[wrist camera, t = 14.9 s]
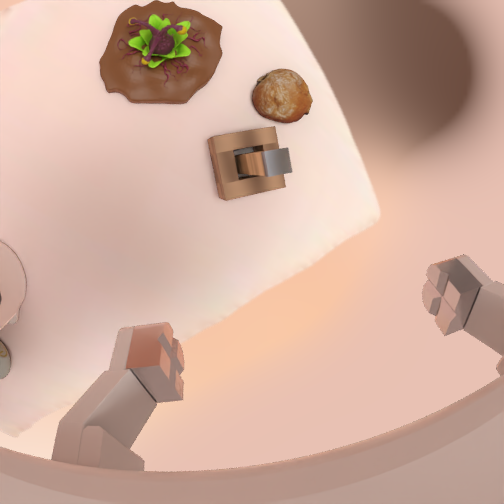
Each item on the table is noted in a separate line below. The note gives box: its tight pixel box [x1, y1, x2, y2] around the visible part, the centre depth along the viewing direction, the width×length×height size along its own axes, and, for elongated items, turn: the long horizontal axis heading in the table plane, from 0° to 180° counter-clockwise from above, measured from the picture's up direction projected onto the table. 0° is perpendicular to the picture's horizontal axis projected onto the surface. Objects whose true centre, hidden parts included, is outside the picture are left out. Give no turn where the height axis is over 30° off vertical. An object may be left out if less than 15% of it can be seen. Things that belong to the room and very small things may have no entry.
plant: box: [99, 0, 222, 104], centre depth 36 cm, size 20×20×11 cm
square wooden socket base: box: [208, 126, 286, 201], centre depth 48 cm, size 10×10×5 cm
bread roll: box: [253, 69, 313, 123], centre depth 47 cm, size 10×10×8 cm
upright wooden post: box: [234, 148, 292, 177], centre depth 43 cm, size 3×3×16 cm
